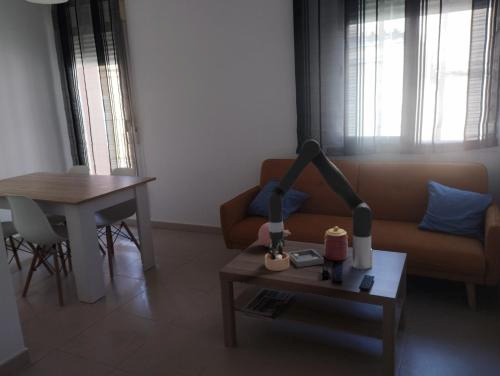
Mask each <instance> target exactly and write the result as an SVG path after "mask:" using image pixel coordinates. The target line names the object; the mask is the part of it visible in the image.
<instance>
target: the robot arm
mask: <svg viewBox="0 0 500 376" xmlns="http://www.w3.org/2000/svg"><path fill="white" fill-rule="evenodd" d="M310 163H311V164H313V165H314V166H315V168H316V169H317V171H318V172H319V174H320V176H321V177H322V179H323V181H324V182H325V184H326V185H327V186H328V187H329V188H330V189H331V190H332V192H333V193H335V195H336V196H338V197H339V198H340V199H341V200H342V201H343V202H344V203H345V205H347V207H348V208H349V210H350V211H351V214H352V262H351V265H352V267H353V268H354V269H358V270H368V269H370V268H372V267H373V249H372V230H373V214H372V210H371V208H370V206H369V205H368V204H367V203H366V202H365V201H364V200H363V199H362V198H361V197H360V196H359V195H358V194H357V192H356V191H355V189H354V188H353V186H352V184H351V183H350V182H349V181H348V179H347V178H346V176H345V175H344V174H343V173H342V171H341V170H340V169H339V168H338V167H337V166H336V165H335V164H334V163H333V162H331V160H330V159H329V158H328V157H327V156H326V155H325V153H324V151H323V150H322V148H321V146H320V144H319V143H318V141H316V140H315V139H307V140H305V141H304V142H303V143H302V145H301V148H300V151H299V154H298V155H297V157H296V159H295V160H294V161H293V163H292V165H291V166H290V167H289V168H287V170H286V171H285V173H284V174H283V176H282V177H281V179H280V180H279V181H278V183H277V184H276V186H274V187H273V189H272V190H271V191H270V193H269V195H268V197H267V199H268V207H269V212H268V221H269V238H270V239H271V240H272V243H269V247H268V253H269V255H271V259H272V260H276V255H275V254H276V252H278V254H280V255H282V256H283V252H284V247H285V245H286V244H285V237H284V235H283V229H284V222H283V219H284V218H283V198H284V197H285V195H286V193H288V192H290V191H291V189H292V188H293V187H294V185H295V184H296V182H297V180H299V177H300V176H301V175H302V173H303V171H305V169H306V168H307V166H308V165H309V164H310Z"/></svg>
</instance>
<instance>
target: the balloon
mask: <svg viewBox="0 0 500 376" xmlns="http://www.w3.org/2000/svg"><path fill="white" fill-rule="evenodd" d="M258 230H259V231H258V235H257V236H258V240H259V241H260V243H261V244H262V246H264V247H266V248H269V243H272V240H271V239H270V238H269V222H266V223H264V224H262V226H261V227H259V229H258ZM291 234H292V233H291V232H290V231H289V229H284V228H283V235H284V238H285V237H288V236H289V235H291Z"/></svg>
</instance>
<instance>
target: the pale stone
mask: <svg viewBox="0 0 500 376" xmlns="http://www.w3.org/2000/svg"><path fill="white" fill-rule="evenodd" d="M275 255H276V260H280V259H282V255H280V254H275Z"/></svg>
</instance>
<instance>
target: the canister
mask: <svg viewBox="0 0 500 376" xmlns="http://www.w3.org/2000/svg"><path fill="white" fill-rule="evenodd" d="M323 238H324V239H325V240H324V257H325V258H326V259H327V260H329V261H330V260H331V261H344V260H346V259H347V258H348V257H349V247H348V246H349V241H348V239H349V236H348V235H347V231H346V230H345V229H342V228H339V226H336V225H335V226H334V227H333V228H329V229H328V230H326V231H325V235H324V237H323Z"/></svg>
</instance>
